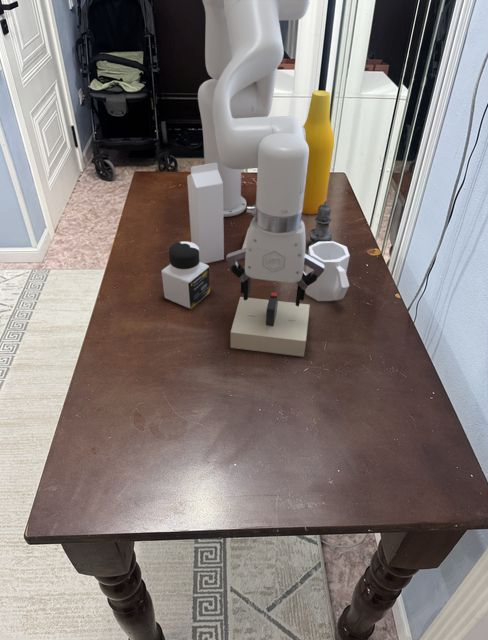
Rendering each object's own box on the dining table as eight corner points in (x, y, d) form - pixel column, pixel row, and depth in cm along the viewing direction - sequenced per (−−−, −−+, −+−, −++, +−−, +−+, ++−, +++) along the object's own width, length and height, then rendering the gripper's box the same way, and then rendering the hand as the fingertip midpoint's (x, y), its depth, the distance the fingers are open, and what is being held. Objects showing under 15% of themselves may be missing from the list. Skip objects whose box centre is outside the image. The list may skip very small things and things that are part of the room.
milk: (224, 259, 116) (223, 168, 101) (199, 265, 114) (195, 173, 99) (214, 246, 120) (213, 157, 105) (191, 251, 118) (185, 161, 103)
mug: (297, 284, 109) (301, 245, 103) (330, 275, 112) (336, 237, 105) (324, 315, 102) (330, 276, 95) (359, 306, 104) (368, 266, 97)
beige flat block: (230, 347, 94) (230, 331, 91) (240, 312, 102) (240, 295, 99) (303, 356, 93) (306, 340, 90) (307, 319, 101) (309, 303, 98)
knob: (273, 326, 93) (274, 308, 90) (265, 325, 93) (266, 307, 90) (277, 310, 96) (278, 292, 93) (269, 309, 96) (270, 291, 93)
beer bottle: (324, 200, 139) (340, 88, 119) (325, 216, 132) (342, 100, 112) (291, 198, 139) (301, 86, 119) (291, 214, 133) (301, 98, 113)
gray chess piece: (330, 254, 118) (337, 208, 110) (306, 251, 119) (311, 205, 111) (332, 242, 123) (339, 196, 114) (308, 239, 123) (314, 194, 115)
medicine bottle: (190, 310, 102) (187, 260, 94) (163, 298, 105) (158, 249, 96) (210, 292, 106) (208, 244, 98) (184, 282, 109) (180, 233, 101)
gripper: (221, 222, 78) (222, 305, 90) (331, 233, 76) (317, 317, 88) (230, 199, 83) (230, 281, 95) (332, 209, 82) (319, 291, 94)
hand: (272, 298), depth 92 cm, fingers open, 9 cm apart
